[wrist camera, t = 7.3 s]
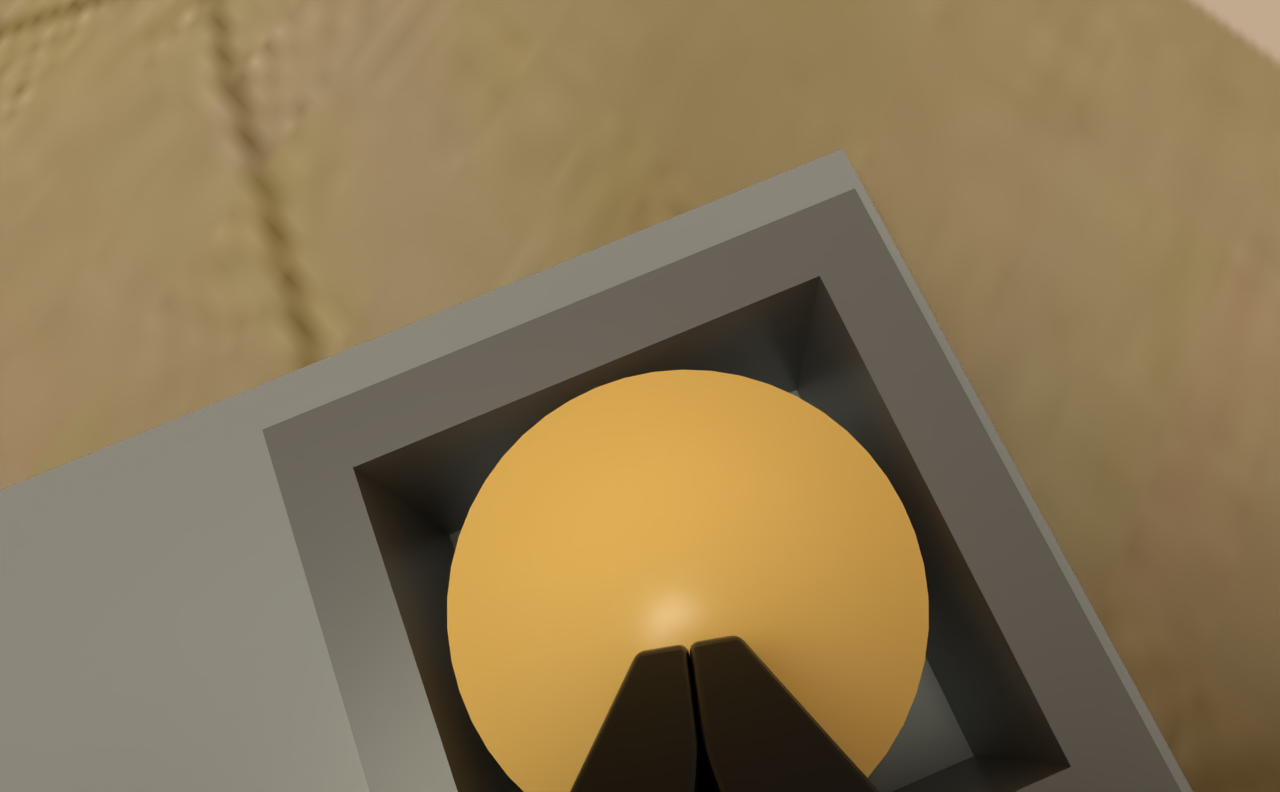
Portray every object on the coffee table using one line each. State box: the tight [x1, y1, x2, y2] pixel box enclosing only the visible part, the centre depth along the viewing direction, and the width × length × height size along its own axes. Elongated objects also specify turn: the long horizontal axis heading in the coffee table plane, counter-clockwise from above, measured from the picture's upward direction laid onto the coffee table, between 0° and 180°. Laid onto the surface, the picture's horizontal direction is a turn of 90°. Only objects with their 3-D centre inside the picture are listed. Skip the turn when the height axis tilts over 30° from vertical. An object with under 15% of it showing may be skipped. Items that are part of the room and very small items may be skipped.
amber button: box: [447, 370, 929, 792], centre depth 12 cm, size 4×4×4 cm
